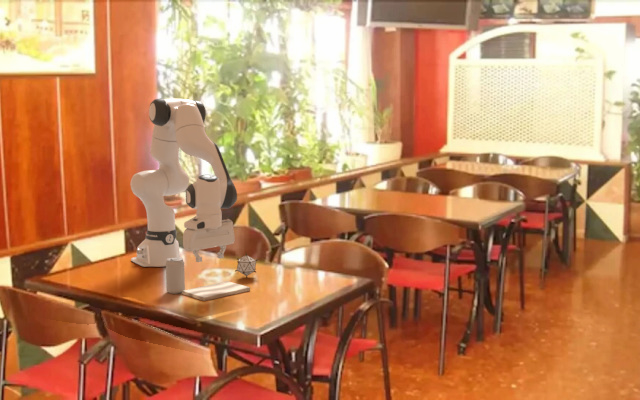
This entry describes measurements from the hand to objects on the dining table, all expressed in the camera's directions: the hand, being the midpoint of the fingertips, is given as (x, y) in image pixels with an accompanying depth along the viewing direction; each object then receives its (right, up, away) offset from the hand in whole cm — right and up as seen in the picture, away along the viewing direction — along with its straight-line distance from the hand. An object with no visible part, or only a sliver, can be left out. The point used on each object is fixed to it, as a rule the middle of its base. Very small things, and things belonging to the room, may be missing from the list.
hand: (209, 259), depth 271 cm
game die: (+11, -9, +20) cm, 24 cm away
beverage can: (-12, -12, -1) cm, 17 cm away
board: (+2, -11, -1) cm, 12 cm away
